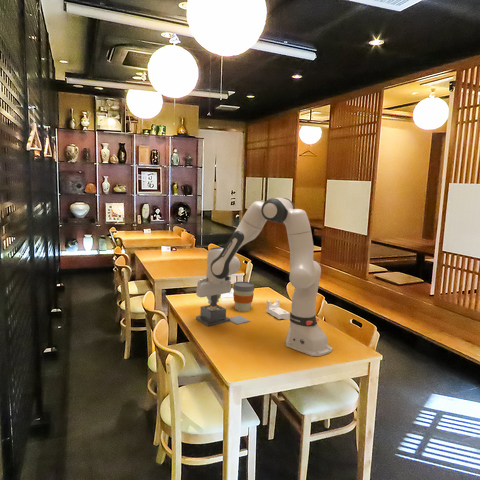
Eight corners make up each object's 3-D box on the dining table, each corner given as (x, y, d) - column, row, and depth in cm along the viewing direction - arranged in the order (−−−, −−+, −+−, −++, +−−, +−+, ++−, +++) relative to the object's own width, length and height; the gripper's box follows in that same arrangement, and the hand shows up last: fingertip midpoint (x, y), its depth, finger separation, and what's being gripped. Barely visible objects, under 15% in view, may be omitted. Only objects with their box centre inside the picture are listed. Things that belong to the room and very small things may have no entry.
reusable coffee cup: (228, 309, 224) (229, 284, 222) (237, 304, 235) (238, 280, 233) (247, 313, 219) (249, 288, 217) (256, 307, 230) (257, 283, 228)
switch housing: (230, 321, 205) (230, 309, 204) (208, 326, 197) (208, 313, 196) (217, 314, 215) (217, 302, 214) (195, 319, 206) (196, 306, 205)
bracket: (266, 313, 223) (267, 300, 222) (276, 311, 226) (277, 299, 225) (278, 320, 211) (279, 307, 210) (289, 319, 215) (290, 306, 214)
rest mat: (250, 321, 207) (250, 320, 207) (237, 324, 201) (237, 323, 201) (239, 316, 214) (239, 315, 214) (226, 319, 208) (226, 318, 208)
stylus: (216, 308, 205) (217, 294, 203) (212, 309, 203) (213, 295, 202) (213, 307, 207) (214, 293, 205) (209, 308, 205) (210, 293, 204)
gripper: (201, 281, 193) (200, 307, 195) (233, 276, 206) (232, 301, 208) (194, 278, 198) (193, 304, 200) (226, 274, 211) (225, 298, 213)
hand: (213, 302), depth 204 cm, fingers closed on stylus, 3 cm apart
